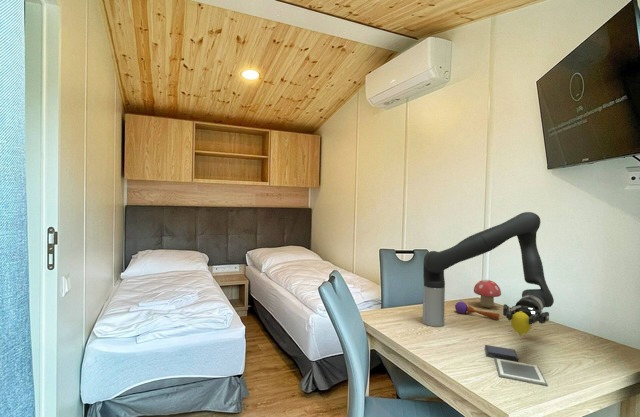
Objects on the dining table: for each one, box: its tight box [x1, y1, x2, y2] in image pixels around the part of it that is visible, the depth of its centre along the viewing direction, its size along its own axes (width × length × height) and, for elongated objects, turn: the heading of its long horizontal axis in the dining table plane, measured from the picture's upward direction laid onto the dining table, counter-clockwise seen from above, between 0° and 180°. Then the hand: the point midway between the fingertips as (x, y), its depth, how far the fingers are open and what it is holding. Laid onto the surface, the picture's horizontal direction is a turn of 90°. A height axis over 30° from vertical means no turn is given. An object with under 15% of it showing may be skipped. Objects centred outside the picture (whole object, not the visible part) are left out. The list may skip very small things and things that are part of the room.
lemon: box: [510, 311, 532, 336], centre depth 108 cm, size 6×6×8 cm
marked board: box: [494, 358, 549, 387], centre depth 107 cm, size 13×13×1 cm
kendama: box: [454, 301, 500, 321], centre depth 164 cm, size 6×6×20 cm
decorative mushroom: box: [473, 279, 502, 309], centre depth 178 cm, size 13×13×15 cm
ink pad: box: [484, 344, 520, 363], centre depth 120 cm, size 10×8×2 cm
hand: (519, 319), depth 106 cm, fingers closed on lemon, 5 cm apart
